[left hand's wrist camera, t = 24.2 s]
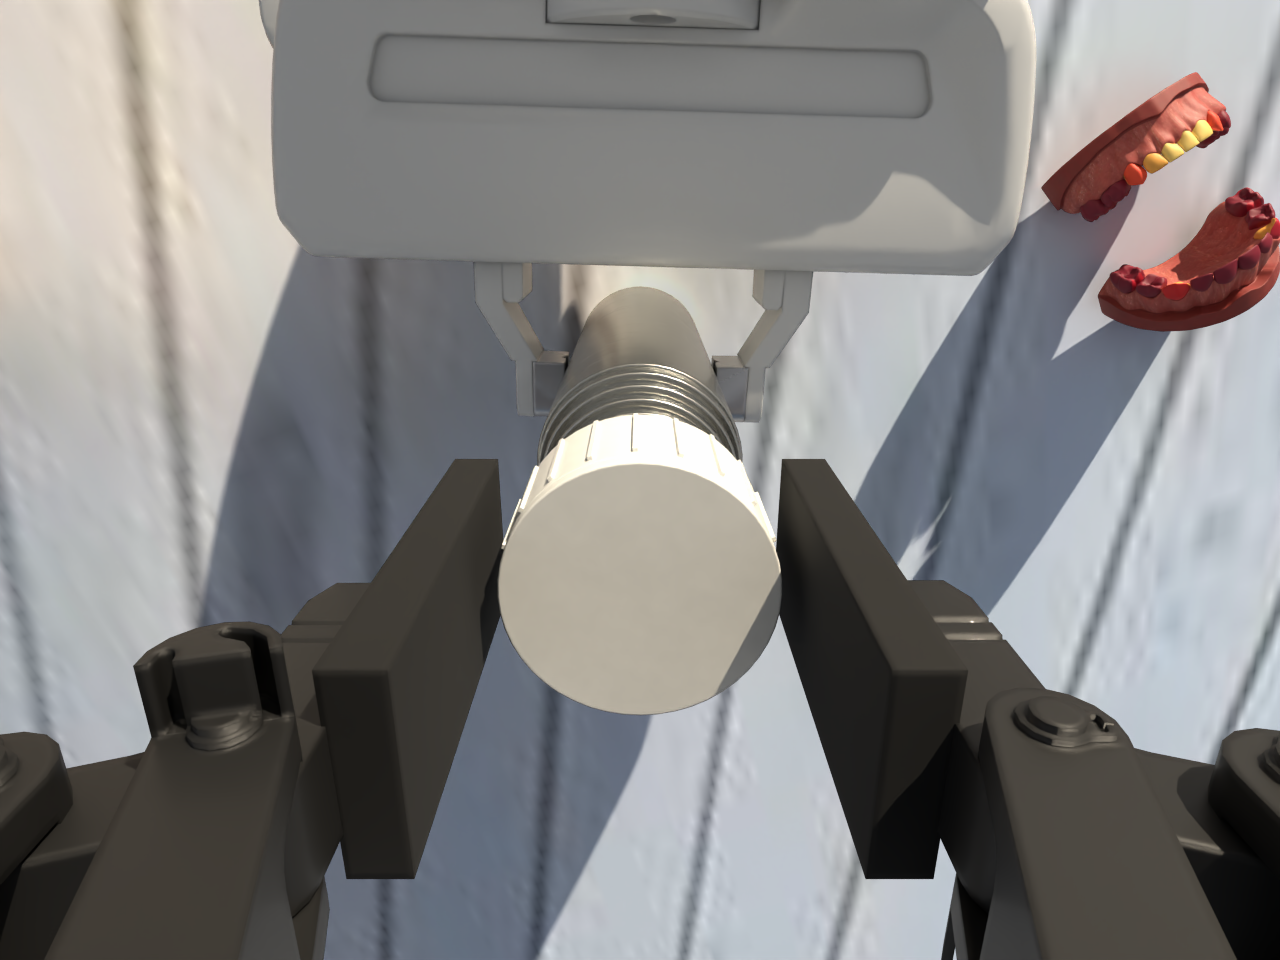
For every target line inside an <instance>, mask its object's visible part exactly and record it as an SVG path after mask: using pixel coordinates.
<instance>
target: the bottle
mask: <svg viewBox="0 0 1280 960" xmlns="http://www.w3.org/2000/svg"><path fill="white" fill-rule="evenodd" d="M633 413H638V415H655V416H661V417H666V418H672V419H674V418H677V419H678V420H679V421H681V422H684V423H687V424H689V425H691V426H693V427H696V428H698V429H700V430H702V431H703V432H705V433H707V434H708V435H710V434H712V435H714V437H715V439H716V440H717V441H718V442H719V443H720V444H721V445H723V446H724V447H725V448H726V449H727V450H728V451H729V452H730V453H731V454H732V455H733V456H734V458H735V459H736V460H737V461H738V460H739V459H740V461H741V462H742V447H741V441H740V437H739V433H738V430H737V427H736V425H735V422H734V420H733V417H732V415H731V412H730V410H729V407H728V405H727V402H726V400H725V397H724V395H723V392H722V390H721V387H720V385H719V383H718V380H717V378H716V375H715V373H714V370H713V368H712V365H711V363H710V360H709V358H708V355H707V353H706V350H705V348H704V345H703V343H702V340H701V338H700V335H699V333H698V330H697V328H696V325H695V323H694V321H693V319H692V317H691V315H690V313H689V312H688V311H687V309H686V308H685V307H684V306H683V305H682V304H681V303H680V302H679V301H678V300H677V299H675V298H674V297H673V296H671V295H669V294H667V293H666V292H663V291H661V290H658V289H654V288H650V287H631V288H626V289H622V290H619V291H617V292H615V293H612V294H611V295H609V296H607V297H606V298H604V299H603V300H602V301H601V302H600V303H599V304H598V305H597V306H596V307H595V308H594V309H593V311H592V312H591V313H590V315H589V317H588V319H587V321H586V322H585V325H584V327H583V330H582V332H581V335H580V337H579V340H578V342H577V345H576V347H575V350H574V352H573V355H572V357H571V360H570V362H569V365H568V367H567V369H566V372H565V374H564V377H563V379H562V382H561V384H560V387H559V389H558V392H557V394H556V397H555V399H554V402H553V404H552V407H551V409H550V412H549V414H548V416H547V419H546V421H545V424H544V427H543V430H542V433H541V435H540V440H539V445H538V454H537V466H539V465H540V463H541V462H542V461H543V460H544V458H545V457H546V456H547V455H548V454H549V453H550V452H551V450H552V449H554V448H555V447H556V446H557V445H558V442H559V440H560V439H562V438H563V439H565V438H567V437H569V436H570V435H572V434H573V433H575V432H576V431H578V430H580V429H582V428H584V427H586V426H588V425H590V424H593V422H594V421H596V420H598V421H602V420H605V419H608V418H614V417H619V416H625V415H633Z"/></svg>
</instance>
